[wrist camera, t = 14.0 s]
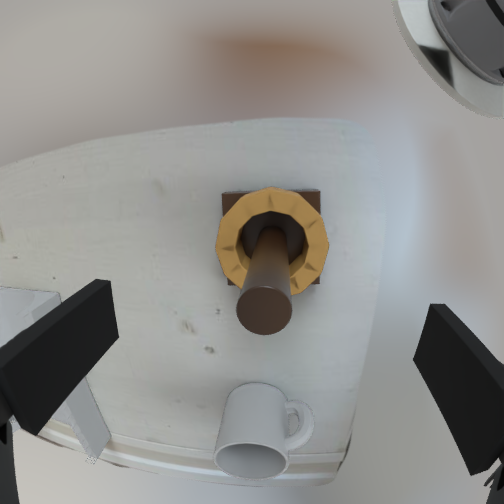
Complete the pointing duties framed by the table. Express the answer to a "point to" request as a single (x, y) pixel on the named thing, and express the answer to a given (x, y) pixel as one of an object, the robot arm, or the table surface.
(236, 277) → the tape roll
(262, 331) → the stand
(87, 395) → the skate ramp
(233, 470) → the cup
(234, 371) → the table surface
